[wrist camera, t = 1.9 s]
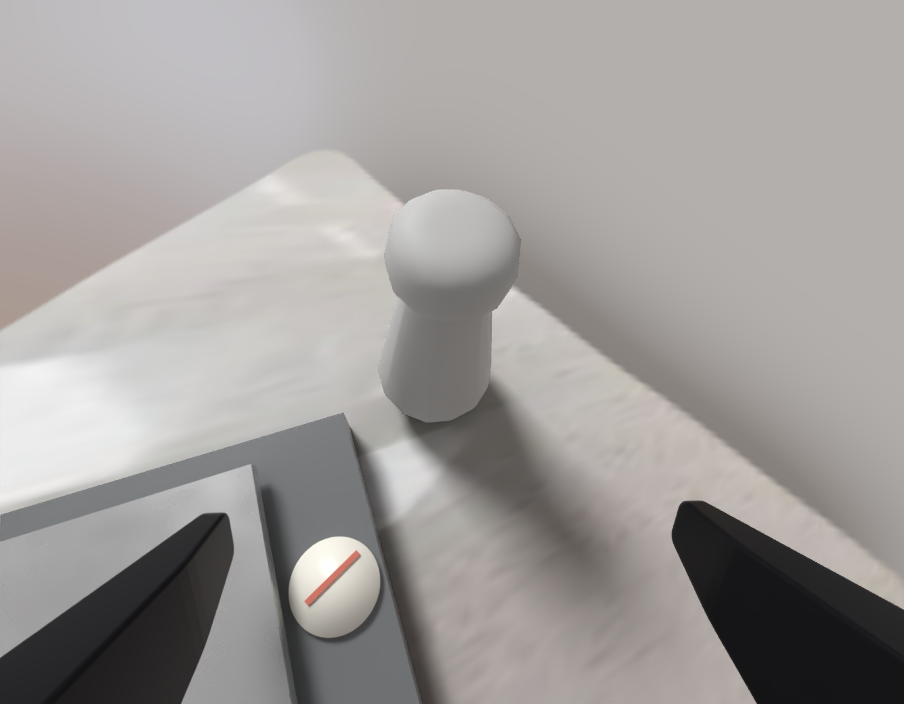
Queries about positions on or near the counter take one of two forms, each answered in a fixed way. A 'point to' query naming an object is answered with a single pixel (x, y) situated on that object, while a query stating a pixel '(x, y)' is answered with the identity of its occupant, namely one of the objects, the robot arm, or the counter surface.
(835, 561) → the counter surface
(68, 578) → the scale pan
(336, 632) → the scale
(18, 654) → the robot arm
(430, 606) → the counter surface
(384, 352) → the salt shaker
